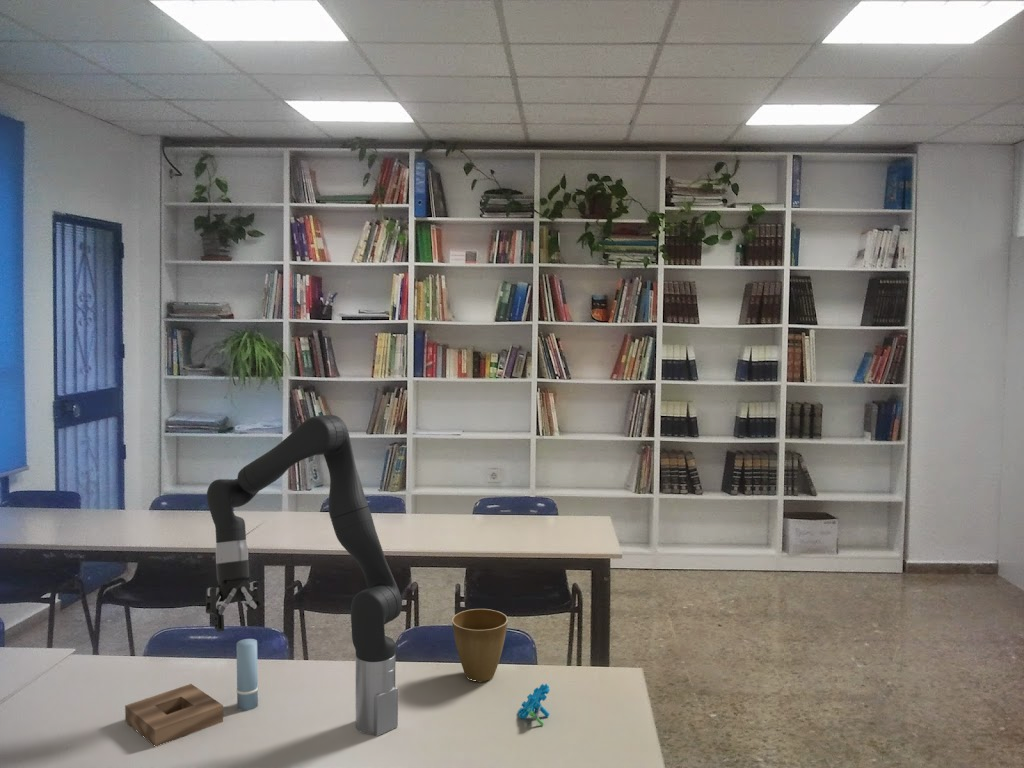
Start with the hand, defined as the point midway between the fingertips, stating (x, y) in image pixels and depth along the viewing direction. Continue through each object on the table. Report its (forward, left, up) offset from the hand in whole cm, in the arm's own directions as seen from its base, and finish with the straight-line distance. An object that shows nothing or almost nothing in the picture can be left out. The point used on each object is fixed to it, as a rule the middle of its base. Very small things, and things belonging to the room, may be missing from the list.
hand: (236, 628), depth 197 cm
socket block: (+4, +14, -20) cm, 25 cm away
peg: (-1, -2, -20) cm, 20 cm away
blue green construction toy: (-55, -47, -20) cm, 75 cm away
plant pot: (-30, -54, -20) cm, 65 cm away
